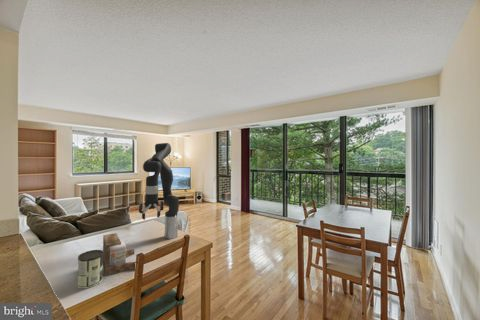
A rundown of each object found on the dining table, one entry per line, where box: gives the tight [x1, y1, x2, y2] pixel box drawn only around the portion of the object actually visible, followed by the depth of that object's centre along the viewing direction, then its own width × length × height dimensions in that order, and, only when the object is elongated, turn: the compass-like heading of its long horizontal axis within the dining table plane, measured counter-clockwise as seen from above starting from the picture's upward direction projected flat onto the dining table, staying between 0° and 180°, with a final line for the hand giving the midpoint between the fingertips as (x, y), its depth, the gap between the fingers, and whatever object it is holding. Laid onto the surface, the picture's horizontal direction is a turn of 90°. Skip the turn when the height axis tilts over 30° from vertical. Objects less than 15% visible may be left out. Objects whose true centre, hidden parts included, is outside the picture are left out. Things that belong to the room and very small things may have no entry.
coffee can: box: [77, 249, 104, 289], centre depth 104 cm, size 10×10×14 cm
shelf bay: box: [102, 232, 137, 276], centre depth 123 cm, size 18×24×16 cm
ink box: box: [109, 241, 127, 267], centre depth 122 cm, size 9×8×12 cm
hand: (151, 218), depth 132 cm, fingers open, 8 cm apart
